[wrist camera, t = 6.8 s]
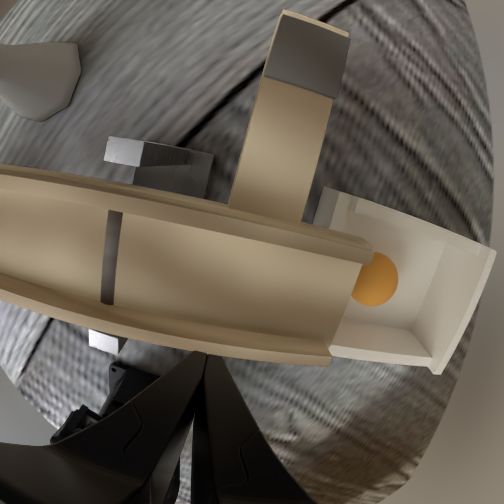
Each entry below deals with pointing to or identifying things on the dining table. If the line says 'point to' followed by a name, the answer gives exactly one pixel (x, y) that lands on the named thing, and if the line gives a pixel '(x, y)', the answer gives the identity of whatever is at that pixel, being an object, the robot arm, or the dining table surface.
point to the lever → (200, 233)
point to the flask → (38, 77)
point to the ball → (376, 281)
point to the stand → (156, 177)
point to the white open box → (407, 284)
